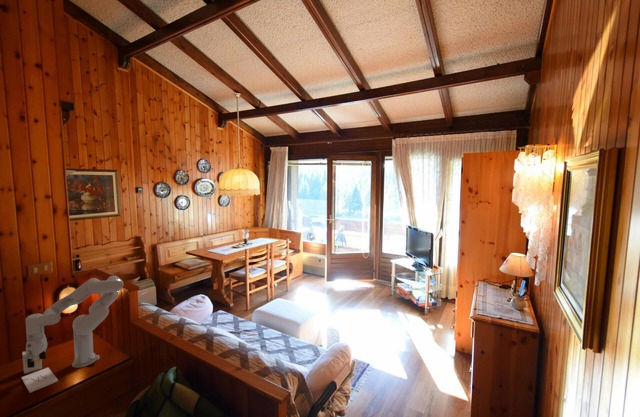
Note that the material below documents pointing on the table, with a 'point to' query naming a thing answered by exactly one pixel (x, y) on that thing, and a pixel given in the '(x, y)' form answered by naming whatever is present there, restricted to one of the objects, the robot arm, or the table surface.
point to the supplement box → (36, 361)
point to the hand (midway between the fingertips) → (37, 362)
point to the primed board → (39, 379)
